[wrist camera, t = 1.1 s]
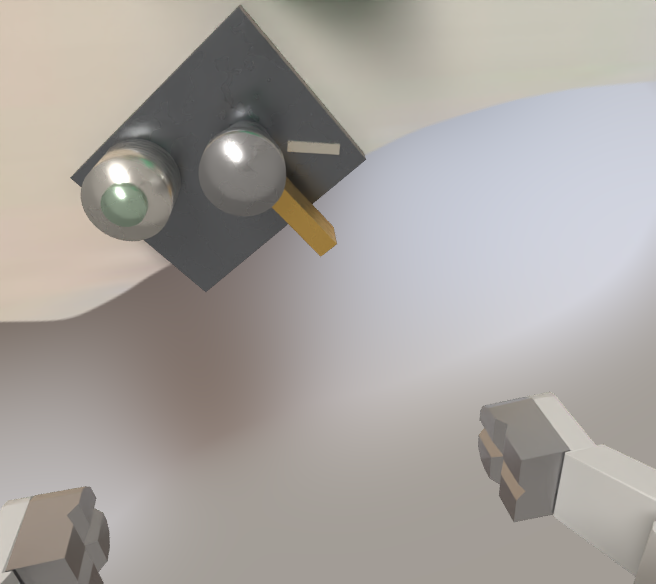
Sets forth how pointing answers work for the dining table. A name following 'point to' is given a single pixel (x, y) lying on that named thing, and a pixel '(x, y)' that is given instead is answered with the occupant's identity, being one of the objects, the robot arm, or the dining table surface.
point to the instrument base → (190, 142)
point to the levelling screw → (258, 182)
